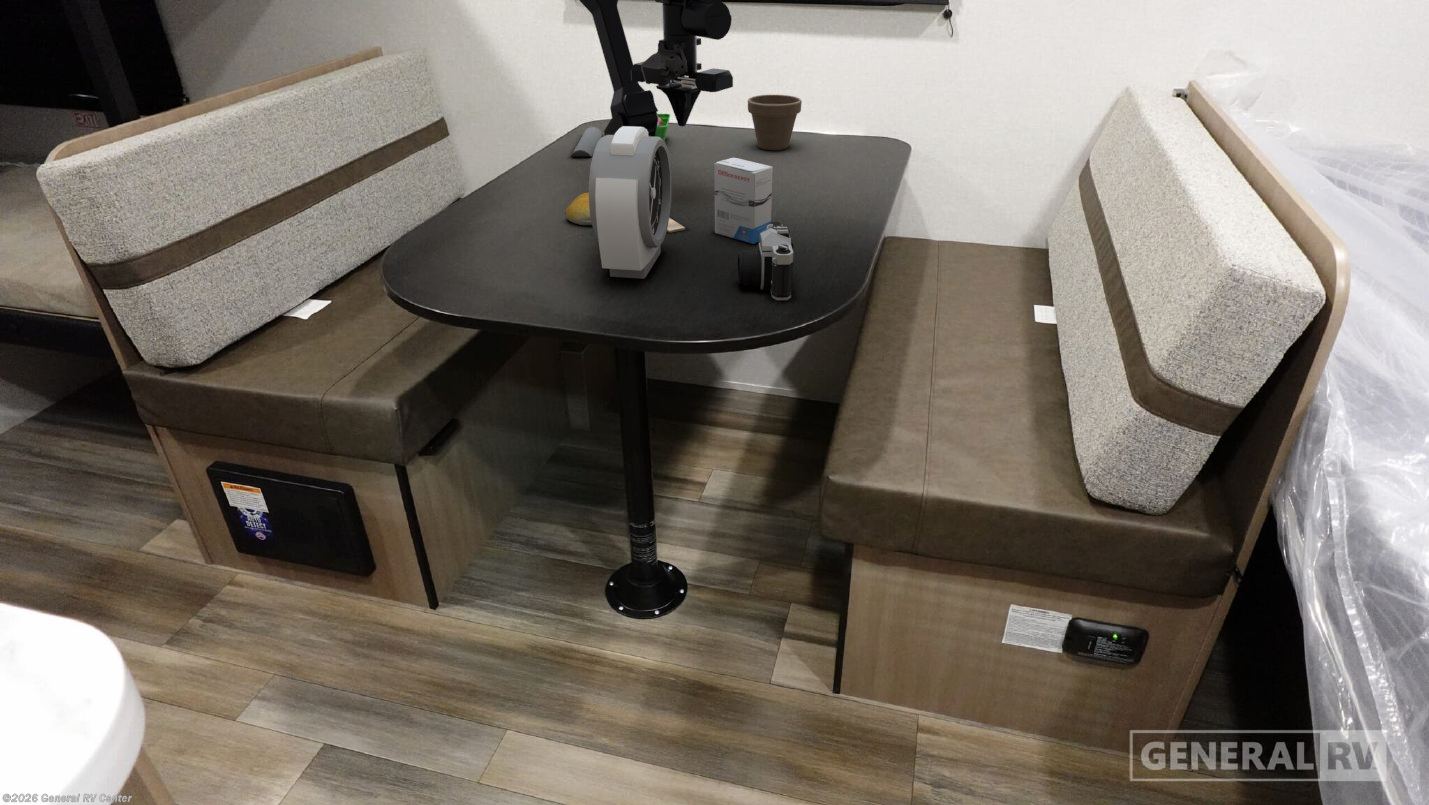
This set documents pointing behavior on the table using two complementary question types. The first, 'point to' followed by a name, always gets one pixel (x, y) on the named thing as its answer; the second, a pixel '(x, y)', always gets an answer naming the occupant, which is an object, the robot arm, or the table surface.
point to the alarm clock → (630, 200)
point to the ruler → (674, 226)
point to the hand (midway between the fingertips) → (682, 125)
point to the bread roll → (579, 210)
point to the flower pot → (774, 119)
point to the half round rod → (588, 142)
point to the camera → (769, 262)
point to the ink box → (742, 199)
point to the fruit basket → (662, 125)
